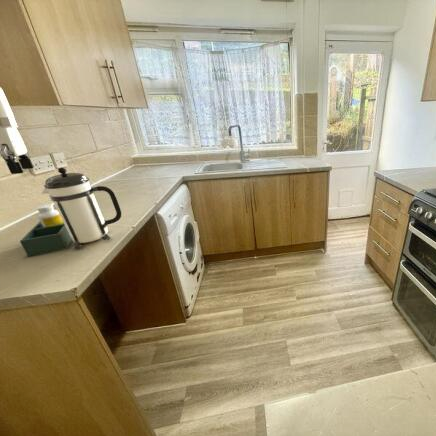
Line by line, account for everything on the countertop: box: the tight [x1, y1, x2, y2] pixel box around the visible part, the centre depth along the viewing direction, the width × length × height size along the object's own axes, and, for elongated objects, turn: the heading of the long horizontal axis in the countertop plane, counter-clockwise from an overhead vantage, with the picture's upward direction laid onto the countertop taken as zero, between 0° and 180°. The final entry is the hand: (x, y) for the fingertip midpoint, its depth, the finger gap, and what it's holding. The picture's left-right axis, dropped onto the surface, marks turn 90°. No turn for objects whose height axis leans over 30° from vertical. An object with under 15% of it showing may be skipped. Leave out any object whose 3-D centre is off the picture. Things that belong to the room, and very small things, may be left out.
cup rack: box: [19, 221, 72, 257], centre depth 100 cm, size 11×21×6 cm, turn 29°
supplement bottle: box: [36, 204, 64, 227], centre depth 102 cm, size 7×7×13 cm
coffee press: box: [41, 167, 122, 250], centre depth 95 cm, size 17×16×30 cm
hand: (23, 170), depth 94 cm, fingers open, 9 cm apart
